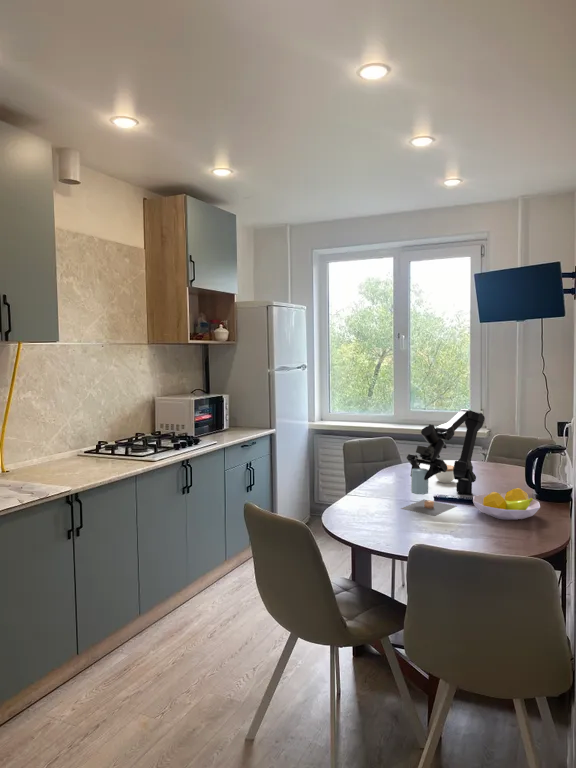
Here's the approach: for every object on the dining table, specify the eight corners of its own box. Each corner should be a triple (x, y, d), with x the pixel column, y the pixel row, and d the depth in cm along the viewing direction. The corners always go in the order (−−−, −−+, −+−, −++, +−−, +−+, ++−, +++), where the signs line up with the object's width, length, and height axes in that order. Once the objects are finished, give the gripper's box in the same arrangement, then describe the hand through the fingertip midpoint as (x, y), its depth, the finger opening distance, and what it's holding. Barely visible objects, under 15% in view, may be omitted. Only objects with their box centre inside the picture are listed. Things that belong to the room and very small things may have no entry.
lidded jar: (456, 484, 292) (457, 466, 291) (434, 483, 294) (435, 465, 293) (455, 479, 302) (455, 462, 302) (433, 478, 304) (434, 461, 304)
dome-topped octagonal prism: (418, 489, 258) (418, 467, 257) (431, 492, 252) (431, 470, 252) (408, 492, 253) (408, 469, 253) (421, 495, 248) (421, 472, 247)
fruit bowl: (464, 506, 253) (464, 480, 252) (526, 506, 252) (527, 481, 251) (483, 526, 225) (484, 497, 224) (554, 527, 224) (555, 498, 224)
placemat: (423, 500, 262) (423, 499, 262) (456, 506, 251) (456, 506, 251) (400, 509, 247) (400, 508, 247) (434, 517, 237) (434, 516, 237)
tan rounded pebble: (433, 506, 251) (433, 500, 251) (433, 508, 247) (434, 503, 247) (424, 505, 252) (424, 500, 252) (424, 508, 248) (424, 502, 248)
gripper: (409, 436, 261) (392, 463, 255) (444, 441, 247) (427, 470, 240) (420, 451, 267) (404, 478, 260) (454, 457, 252) (438, 486, 246)
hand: (417, 478), depth 252 cm, fingers closed on dome-topped octagonal prism, 7 cm apart
